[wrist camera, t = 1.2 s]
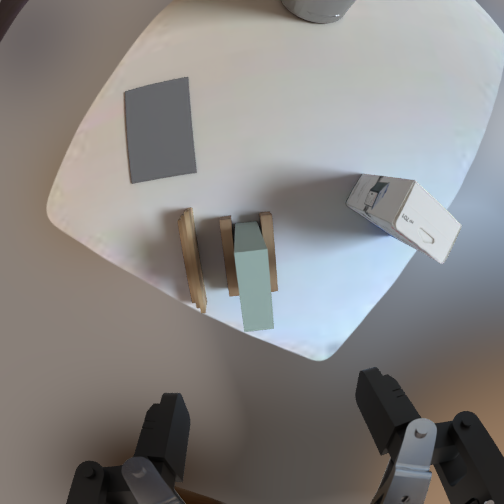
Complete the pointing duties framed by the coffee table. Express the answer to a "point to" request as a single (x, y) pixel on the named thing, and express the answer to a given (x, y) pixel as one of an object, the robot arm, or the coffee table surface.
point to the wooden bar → (192, 259)
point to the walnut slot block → (228, 250)
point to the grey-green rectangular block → (253, 277)
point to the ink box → (406, 213)
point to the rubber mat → (160, 130)
